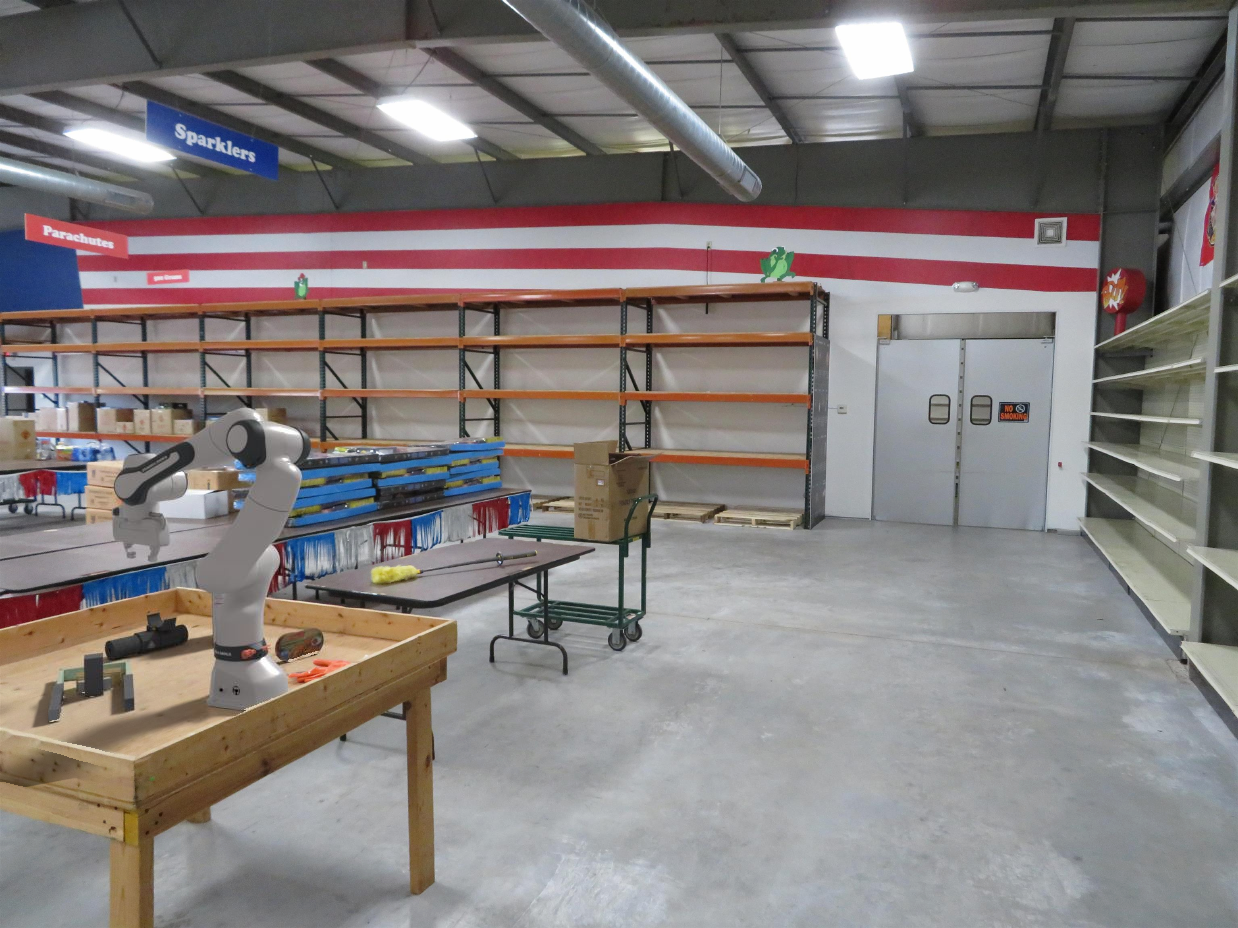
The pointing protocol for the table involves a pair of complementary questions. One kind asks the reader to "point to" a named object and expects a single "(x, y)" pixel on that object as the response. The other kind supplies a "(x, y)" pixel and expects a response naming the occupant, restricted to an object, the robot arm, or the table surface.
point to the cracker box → (216, 603)
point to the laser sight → (148, 638)
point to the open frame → (72, 672)
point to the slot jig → (59, 693)
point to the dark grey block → (94, 676)
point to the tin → (299, 643)
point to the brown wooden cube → (113, 676)
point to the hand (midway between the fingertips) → (141, 559)
